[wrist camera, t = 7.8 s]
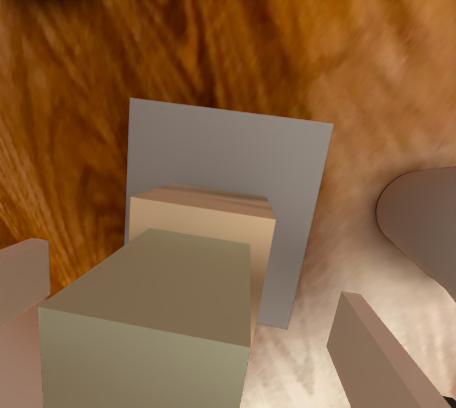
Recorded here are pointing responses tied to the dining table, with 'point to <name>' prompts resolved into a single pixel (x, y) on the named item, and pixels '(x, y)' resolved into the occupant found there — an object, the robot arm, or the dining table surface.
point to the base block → (211, 223)
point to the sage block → (151, 327)
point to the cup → (423, 221)
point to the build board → (236, 175)
